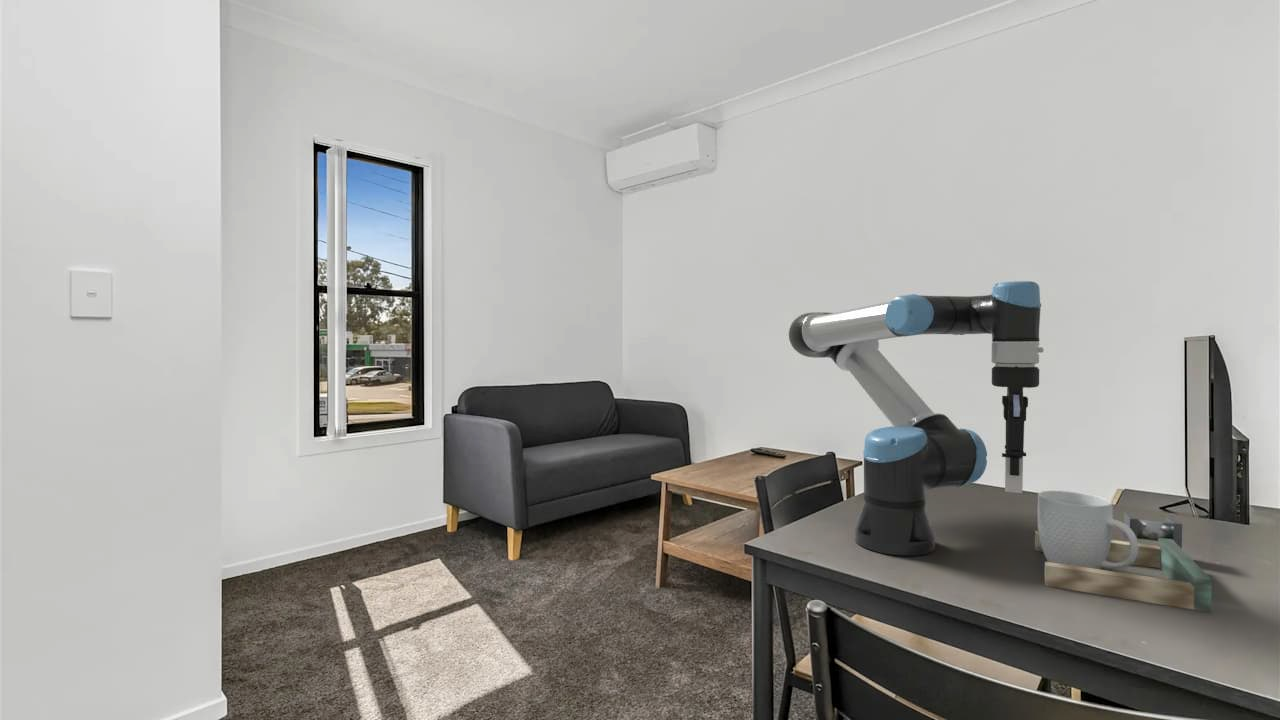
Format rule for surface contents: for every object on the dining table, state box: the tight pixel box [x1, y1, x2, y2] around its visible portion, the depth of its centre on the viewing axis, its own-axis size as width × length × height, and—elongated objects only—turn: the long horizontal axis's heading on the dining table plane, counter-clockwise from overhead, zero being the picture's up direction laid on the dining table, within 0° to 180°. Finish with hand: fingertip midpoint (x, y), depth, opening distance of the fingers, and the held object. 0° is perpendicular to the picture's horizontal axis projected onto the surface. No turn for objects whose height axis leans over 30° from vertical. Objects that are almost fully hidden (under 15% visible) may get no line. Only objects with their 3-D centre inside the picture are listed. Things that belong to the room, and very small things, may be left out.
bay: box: [1034, 529, 1213, 613], centre depth 106 cm, size 21×21×5 cm
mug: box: [1037, 490, 1139, 570], centre depth 108 cm, size 15×11×13 cm
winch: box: [1123, 511, 1183, 550], centre depth 115 cm, size 8×6×8 cm
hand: (1013, 491), depth 113 cm, fingers closed
